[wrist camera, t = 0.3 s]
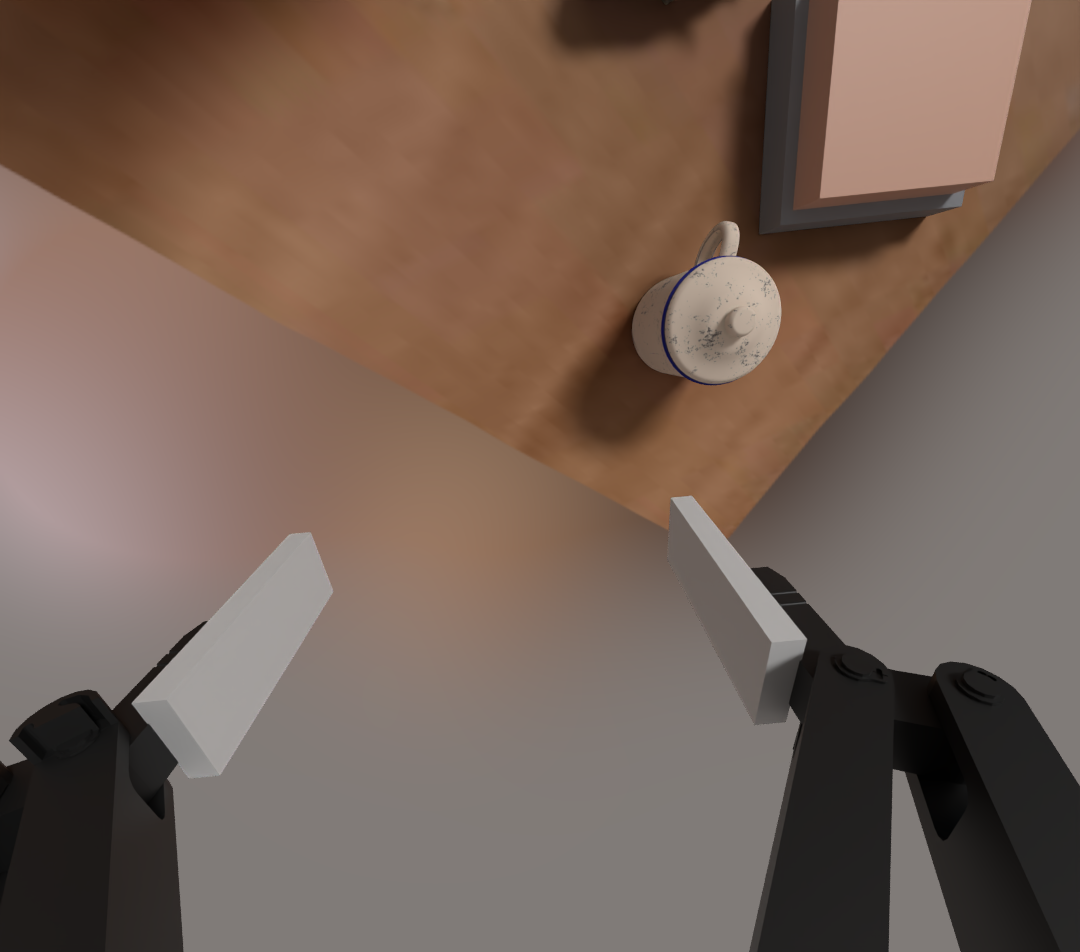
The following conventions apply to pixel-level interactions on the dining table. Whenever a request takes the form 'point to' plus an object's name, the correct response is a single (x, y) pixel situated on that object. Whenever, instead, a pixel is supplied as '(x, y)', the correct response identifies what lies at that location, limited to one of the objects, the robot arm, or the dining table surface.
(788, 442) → the dining table surface
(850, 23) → the brick plinth
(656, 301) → the teacup with lid
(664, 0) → the rhino figurine
